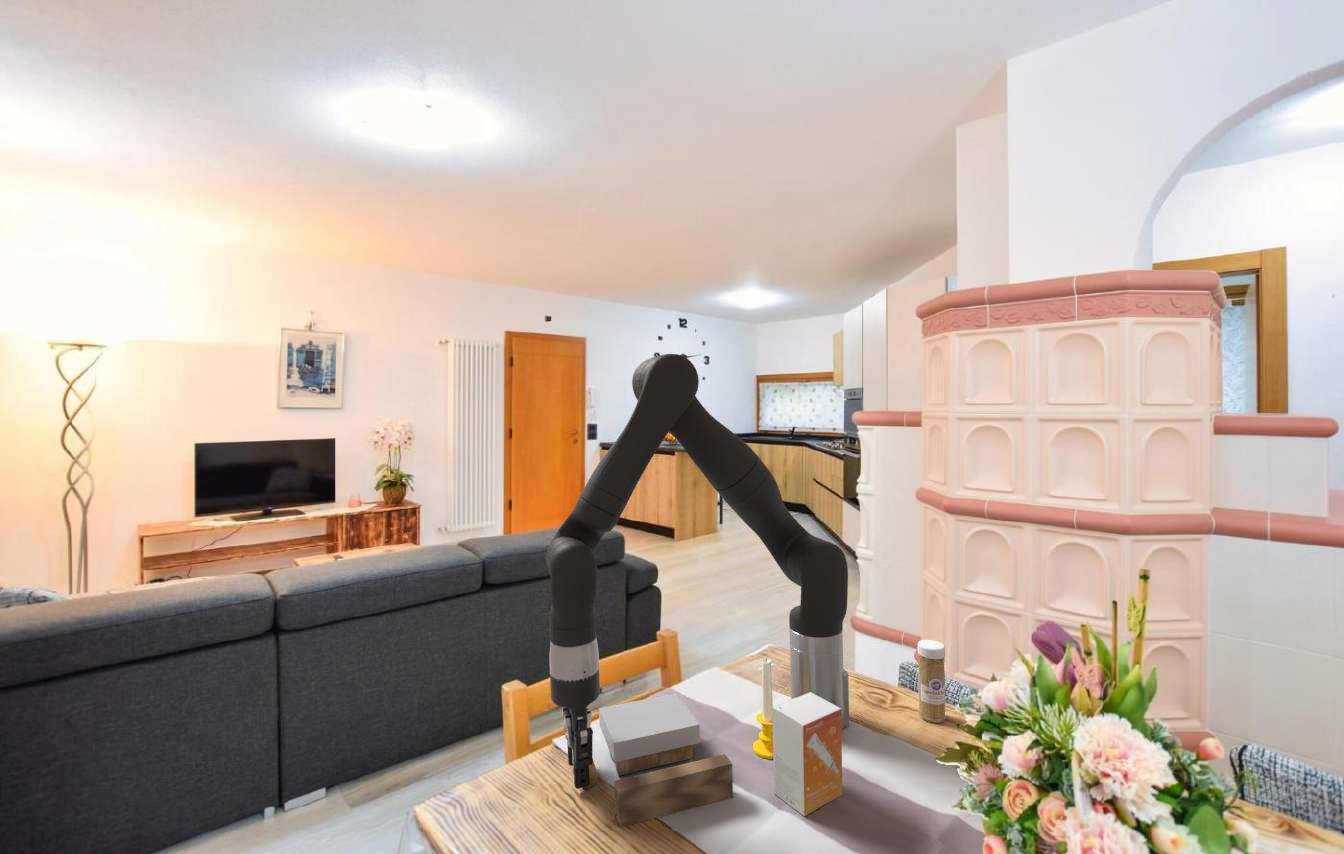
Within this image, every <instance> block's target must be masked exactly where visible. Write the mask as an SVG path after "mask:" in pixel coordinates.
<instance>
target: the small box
mask: <svg viewBox="0 0 1344 854" xmlns="http://www.w3.org/2000/svg"><path fill="white" fill-rule="evenodd" d="M772 709H773V759H772V760H773V793H774V795H776V796H777V797H778V798H779V799H780V800H782V801H783V802H784V803H786V804H787V805H788V806H790V807H791V808H792V809H794V810H795V811H796V812H798V814H801V815H802V816H803V817H807V816H808V815H810V814H812V813H813V812H814V811H816V810H818V809H820V808H821V807H823V806H825V805H826V804H828V803H830V802H832V801H834V800H835V799H837V798H839V797H841V796H842V795H843V756H842V755H843V748H842V747H843V742H842V741H843V739H842V737H843V736H842V733H843V730H842V723H841V708H839V707H837V706H836V705H834V704H832V703H830V702H828V701H826V700H824V699H822V698H821V697H819V696H817V695H815V694H813V693H811V692H810V693H807V694H805V695H802V696H800V697H797V698H794V699H791V698H790V699H789V700H787V701H785V702H784V703H783V702H782V703H781V704H779V705H776V706H773V708H772Z"/></svg>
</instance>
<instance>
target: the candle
mask: <svg viewBox="0 0 1344 854" xmlns="http://www.w3.org/2000/svg"><path fill="white" fill-rule="evenodd" d="M761 689H762V690H761V693H762V694H761V695H762V697H761V700H762V712H760V713H757V715H756V717H755V718H756V721H757V722H758V723H760V724H761V731H760V732H759V733H758V739H757V740H756V741H754V742H753V744H752V750H753V753H754V754H755V755H756V756H758V757H760V758H762V759H766V760H773V709H772V708H773V707H774V704H773V702H774V701H773V700H774V699H773V672H772V660H771V659H770V658H767V657H765V659H763V660H762V661H761Z"/></svg>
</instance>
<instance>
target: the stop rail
mask: <svg viewBox="0 0 1344 854" xmlns="http://www.w3.org/2000/svg"><path fill="white" fill-rule="evenodd" d="M613 781H614V782H613V784H614V785H613V786H614V787H613V788H614V813H615V814H614V815H615V819H616V822H617V825H618V826H619V827H618V828H622V827H626V826H630V825H634V824H638V823H641V822H644V821H648V820H652V819H656V818H661V817H663V816H667V815H671V814H675V813H678V812H679V813H680V812H682V811H686V810H690V809H693V808H697V807H701V806H705V805H708V804H712V803H716V802H719V801H724V800H727V799H731V798H734V789H733V763H732V762H731V760H730V759H729V757H728V756H727V755H726V753H723V754H720V755H715V756H711V757H708V758H703V759H700V760H695V761H691V762H687V763H682V764H679V765H678V764H677V765H674V766H670V767H666V768H661V769H658V770H653V771H650V772H649V771H648V772H645V773H640V774H637V775H632V776H628V777H624V778H619V779H615V780H613Z"/></svg>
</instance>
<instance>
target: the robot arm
mask: <svg viewBox="0 0 1344 854" xmlns="http://www.w3.org/2000/svg"><path fill="white" fill-rule="evenodd" d="M699 382H700V380H699V374H698V371H697V368H696V367H695V365H694V363H692V361H691V360H690V359H688V358H687V357H685V356H683V355H680V354H677V353H666V354H660V355H657V356H654V357H650V358H647V359H645V360H644V361H642V362H641V363H640V364H638V366H637V367H636V369H635V370H634V372H633V374H632V380H631V383H632V384H631V385H632V391H633V395H634V396H635V398H636V400H637V403H636V405H635V408H634V409H633V411H632V413H631V416H630V418H629V420H628V421H627V423H626V425H625V426H624V428H623V430H622V431H621V433H620V435H619V436H618V437H617V439H616V440H615V442H614V443H613V444H612V445H611V447H609V449H608V451H607V452H606V453H605V454H604V456H603V457H602V458H601V460H600V461H599V463H598V464H597V466H596V467H595V469H594V470H593V472H592V473H591V475H590V477H589V479H588V480H587V482H586V485H584V487H583V490H582V492H581V494H580V495H579V497H578V499H577V501H576V504H575V505H574V508H573V510H572V511H571V512H570V514H569V515H568V516H566V518H565V520H564V521H563V523H562V524H561V526H560V527H559V529H557V532H556V533H555V534H554V536H553V537H552V540H551V541H550V544H549V545H548V548H547V551H546V554H545V564H546V567H547V570H548V572H549V575H550V587H551V603H552V605H551V607H550V610H549V637H550V638H549V640H550V642H549V643H550V644H549V645H550V647H549V657H548V658H549V680H550V681H549V682H550V684H549V685H550V699H551V702H553V704H554V705H556V706H557V707H560V708H561V714H562V716H561V717H562V719H563V720H562V726H563V731H564V733H565V739H566V741H567V761H568V765H569V766H571V767H572V766H573V783H574V784H573V785H574V788H575V789H578V790H579V789H582V788H584V787H587V786H588V785H589V784H590V779H589V765H592V762H593V761H594V759H593V758H594V757H593V735H594V730H593V728H592V727H591V723H592V721H593V720H592V713H591V710H589V705H591V704H592V703H594V702H595V701H596V700H598V698H599V696H600V694H601V681H600V680H601V679H600V657H599V656H600V653H599V652H600V651H599V646H598V644H599V643H598V639H597V616H596V607H595V606H596V600H597V599H596V598H597V588H598V565H597V563H598V561H597V557H596V555H595V553H594V552H595V549H596V548H597V547H598V545H599V544H600V542H601V540H602V538H603V536H604V535H605V534H606V533H609V532H611V531H612V530H613V529H614V528H615V526H616V524H618V521H619V519H620V518H621V517H622V514H623V512H624V510H625V508H626V506H627V505H628V503H629V501H630V499H631V497H632V495H633V492H634V490H635V489H636V488H637V486H638V484H639V482H640V479H641V478H642V475H643V474H644V473H645V470H646V469H647V466H648V465H649V464H650V462H651V460H652V459H653V457H654V455H655V454H656V452H657V450H658V449H659V448H660V446H661V444H662V443H663V441H664V440H665V438H666V437H667V436H668V435H669V433H670V434H671V435H672V437H674V438H675V439H676V441H678V443H679V444H680V446H681V447H682V448H683V449H684V451H685V452H686V454H687V456H689V458H690V459H691V461H692V462H693V463H694V464H695V466H696V467H697V468H698V470H700V472H701V474H702V475H703V476H704V477H705V478H706V479H707V481H708V482H709V483H710V485H711V486H712V487H713V488H714V490H715V491H716V492H717V493H718V494H719V495H720V497H721V498H722V499H723V501H724V502H726V504H727V506H729V507H730V508H731V510H733V512H735V514H737V516H738V517H739V518H740V519H741V521H743V522H744V523H745V525H747V526H748V527H749V529H750V530H752V531H753V532H754V533H755V534H756V536H757V537H758V538H759V539H760V540H761V542H762V543H763V544H764V546H765V548H766V549H767V550H768V552H769V553H770V554H771V556H772V558H773V560H774V561H775V563H776V564H777V566H778V567H779V568H780V570H781V571H782V573H783V574H784V576H785V577H786V578H787V579H788V580H790V582H792V583H793V584H795V585H797V586H799V587H800V605H797V606H794V607H793V608H792V609H791V610H790V612H789V621H788V622H789V628H788V629H789V659H790V661H789V662H790V663H789V664H790V665H789V666H790V669H789V670H790V700H791V699H794V698H797V697H800V696H802V695H805V694H807V693H810V692H811V693H813V694H815V695H817V696H819V697H821V698H822V699H824V700H826V701H828V702H830V703H832V704H834V705H836V706H837V707H839V708H841V723H842V731H843V730H845V729H844V728H846V727H849V726H850V696H849V695H850V689H849V688H850V686H849V683H850V682H849V672H848V671H847V670H845V669H844V644H843V643H844V641H843V639H844V638H843V636H844V635H843V632H844V631H843V628H844V626H843V625H844V624H843V622H844V619H845V617H846V616H847V615H846V614H847V610H848V593H849V591H848V590H849V589H848V588H849V570H848V569H849V567H848V560H847V557H846V555H845V553H844V551H843V550H842V549H841V547H840V546H838V545H837V544H835V543H833V542H830V541H828V540H826V539H822V538H819V537H816V536H815V535H812V534H811V533H809V532H808V531H807V529H805V528H804V526H803V525H801V524H800V523H799V522H798V520H796V518H794V516H793V515H792V514H791V513H790V511H789V509H788V508H787V507H786V504H785V502H784V500H783V496H782V494H781V491H780V488H779V485H778V483H777V481H776V479H775V477H774V474H772V472H771V471H770V470H769V468H768V467H767V465H766V464H765V463H764V462H763V460H762V459H761V458H760V457H759V455H758V454H757V453H756V452H755V451H754V450H753V449H752V448H751V447H750V446H749V445H748V443H746V442H745V441H744V440H743V439H742V438H741V437H739V436H738V435H737V434H735V433H734V432H733V431H732V430H730V429H729V428H728V427H726V426H725V425H724V424H722V423H721V422H720V421H719V420H717V419H716V418H715V417H714V416H713V415H712V414H710V412H709V411H708V410H707V409H706V408H705V407H704V406H703V404H702V403H701V402H700V400H699V399H698V397H697V396H696V395H697V393H698V389H699ZM585 753H586V754H585ZM581 754H582V755H581ZM572 758H573V759H572Z"/></svg>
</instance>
